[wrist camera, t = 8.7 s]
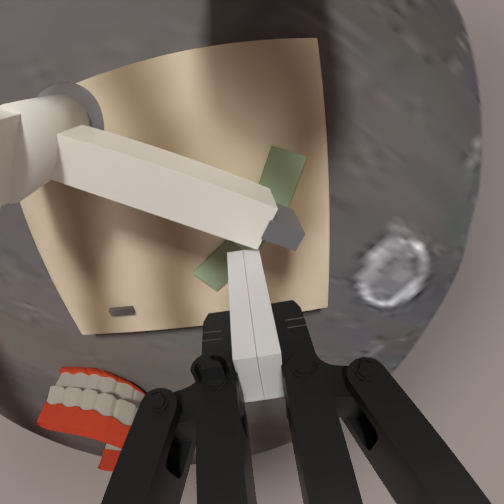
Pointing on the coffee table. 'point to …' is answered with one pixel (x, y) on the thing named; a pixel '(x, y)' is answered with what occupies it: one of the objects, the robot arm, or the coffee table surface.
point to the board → (205, 151)
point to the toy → (92, 408)
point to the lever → (133, 174)
